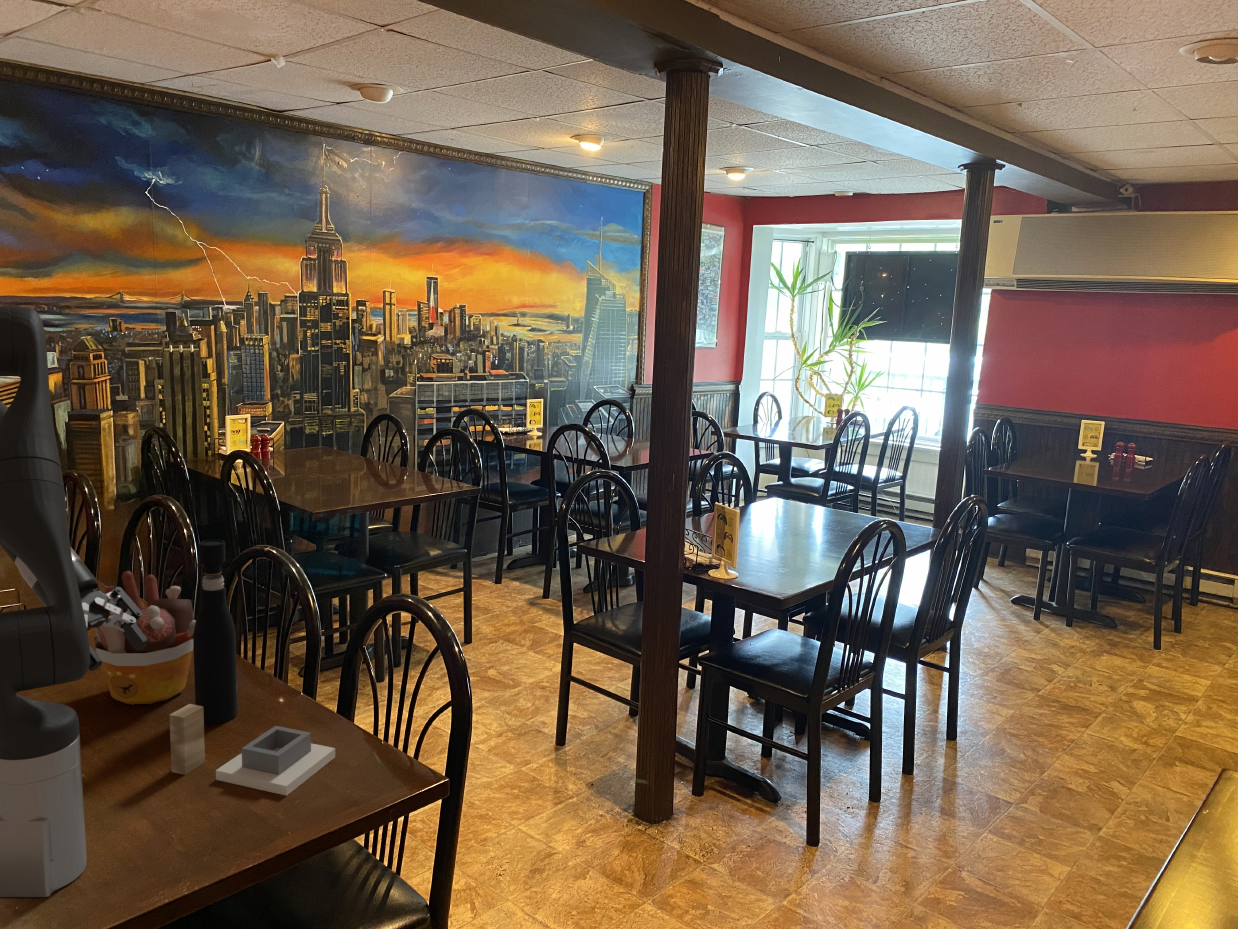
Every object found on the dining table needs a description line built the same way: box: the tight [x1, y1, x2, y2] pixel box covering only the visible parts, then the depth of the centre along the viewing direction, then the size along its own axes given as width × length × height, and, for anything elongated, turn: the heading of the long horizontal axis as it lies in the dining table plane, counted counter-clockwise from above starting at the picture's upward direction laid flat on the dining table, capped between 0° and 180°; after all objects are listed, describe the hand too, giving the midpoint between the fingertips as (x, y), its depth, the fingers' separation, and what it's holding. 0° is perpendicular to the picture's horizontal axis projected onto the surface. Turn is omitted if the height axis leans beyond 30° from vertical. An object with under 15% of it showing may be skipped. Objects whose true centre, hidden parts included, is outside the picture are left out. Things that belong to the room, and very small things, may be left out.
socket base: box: [215, 725, 336, 797], centre depth 137 cm, size 12×12×4 cm
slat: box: [169, 703, 206, 776], centre depth 136 cm, size 2×4×9 cm, turn 164°
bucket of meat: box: [93, 570, 196, 706], centre depth 159 cm, size 20×16×20 cm
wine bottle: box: [193, 539, 238, 725], centre depth 150 cm, size 6×6×30 cm
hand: (120, 657), depth 137 cm, fingers open, 8 cm apart
